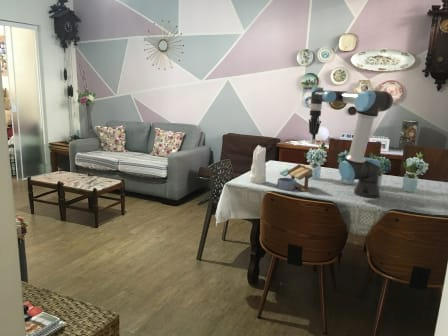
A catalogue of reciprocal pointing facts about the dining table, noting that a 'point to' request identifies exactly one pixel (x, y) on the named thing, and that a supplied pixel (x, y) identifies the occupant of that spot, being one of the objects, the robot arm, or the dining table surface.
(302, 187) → the pivot stand
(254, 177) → the decorative vase
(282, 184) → the grey round container
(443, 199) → the dining table surface
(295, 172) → the tipping tray
